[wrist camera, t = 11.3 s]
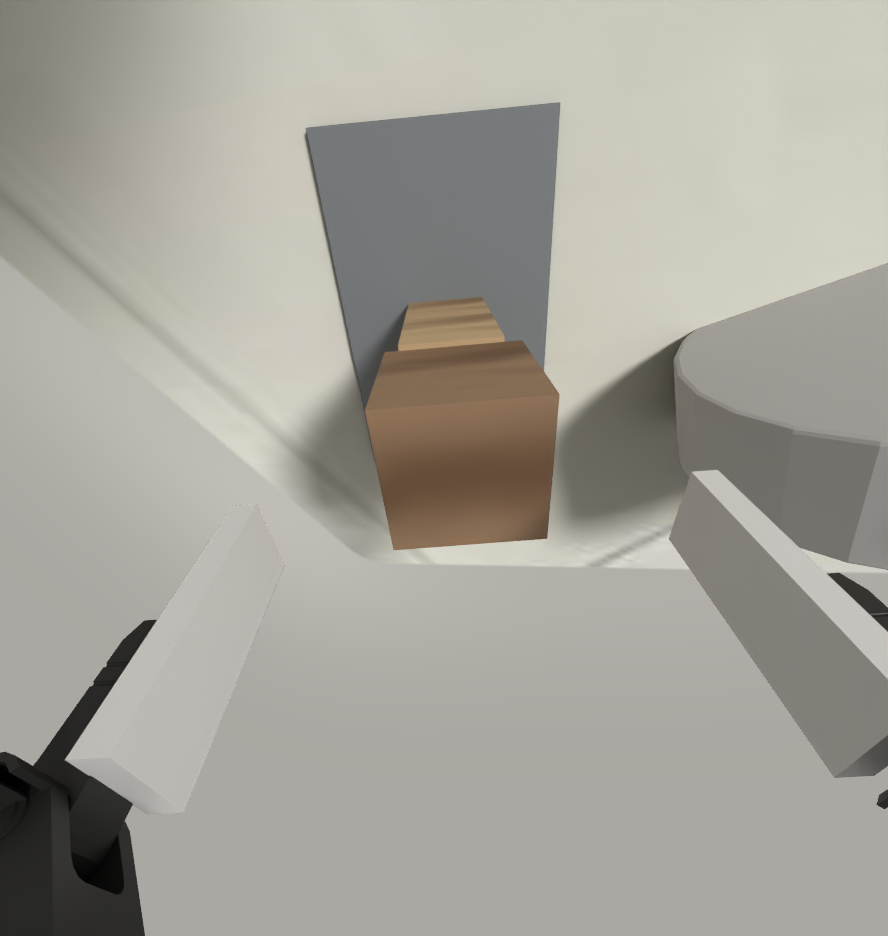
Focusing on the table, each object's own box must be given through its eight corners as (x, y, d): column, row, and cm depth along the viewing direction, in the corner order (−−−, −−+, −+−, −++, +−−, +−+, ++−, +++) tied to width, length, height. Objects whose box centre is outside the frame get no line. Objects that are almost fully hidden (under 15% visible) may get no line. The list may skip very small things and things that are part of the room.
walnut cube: (384, 352, 19) (364, 410, 13) (522, 340, 19) (559, 394, 13) (403, 466, 22) (393, 550, 17) (518, 457, 22) (546, 538, 17)
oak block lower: (408, 303, 27) (404, 320, 23) (482, 296, 27) (491, 312, 23) (420, 398, 31) (418, 428, 27) (484, 393, 31) (492, 422, 26)
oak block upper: (404, 320, 23) (397, 345, 19) (491, 312, 23) (504, 336, 18) (418, 428, 27) (415, 469, 22) (492, 422, 26) (503, 462, 22)
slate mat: (307, 129, 22) (305, 127, 22) (558, 104, 22) (560, 102, 21) (375, 460, 34) (375, 462, 34) (537, 447, 34) (538, 449, 33)
